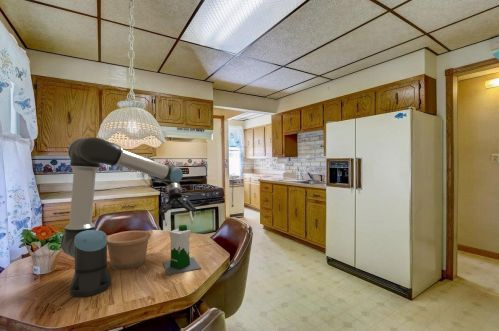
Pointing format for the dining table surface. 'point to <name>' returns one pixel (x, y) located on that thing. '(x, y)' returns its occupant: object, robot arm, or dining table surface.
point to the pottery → (127, 249)
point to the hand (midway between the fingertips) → (179, 223)
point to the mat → (192, 266)
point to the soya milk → (180, 247)
